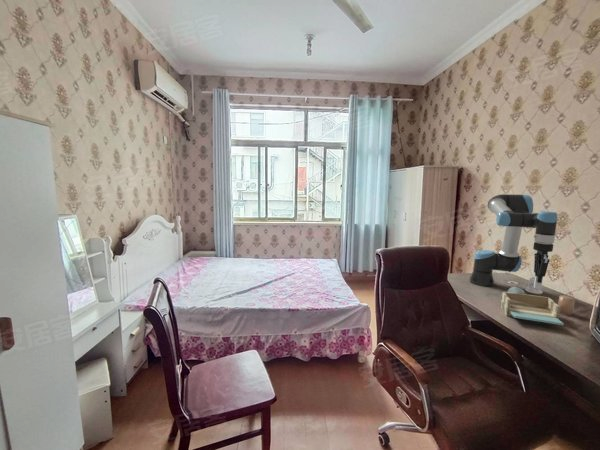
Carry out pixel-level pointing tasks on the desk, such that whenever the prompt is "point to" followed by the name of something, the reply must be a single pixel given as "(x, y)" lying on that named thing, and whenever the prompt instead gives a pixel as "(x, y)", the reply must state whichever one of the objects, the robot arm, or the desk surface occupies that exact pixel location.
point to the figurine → (531, 286)
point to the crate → (529, 304)
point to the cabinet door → (536, 317)
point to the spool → (516, 290)
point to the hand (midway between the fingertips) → (537, 288)
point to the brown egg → (566, 305)
